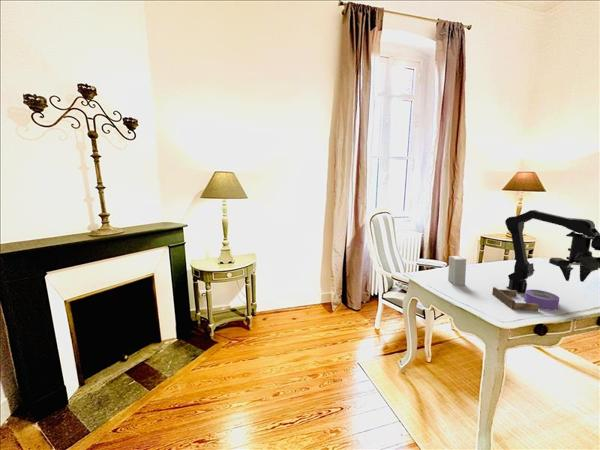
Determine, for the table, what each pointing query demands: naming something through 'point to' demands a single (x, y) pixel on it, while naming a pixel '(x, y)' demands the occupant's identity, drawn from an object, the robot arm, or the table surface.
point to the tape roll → (542, 299)
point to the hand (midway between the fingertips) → (574, 281)
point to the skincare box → (457, 270)
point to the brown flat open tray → (504, 297)
